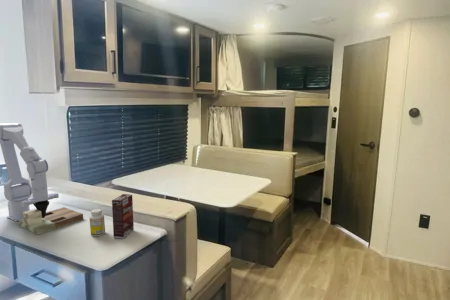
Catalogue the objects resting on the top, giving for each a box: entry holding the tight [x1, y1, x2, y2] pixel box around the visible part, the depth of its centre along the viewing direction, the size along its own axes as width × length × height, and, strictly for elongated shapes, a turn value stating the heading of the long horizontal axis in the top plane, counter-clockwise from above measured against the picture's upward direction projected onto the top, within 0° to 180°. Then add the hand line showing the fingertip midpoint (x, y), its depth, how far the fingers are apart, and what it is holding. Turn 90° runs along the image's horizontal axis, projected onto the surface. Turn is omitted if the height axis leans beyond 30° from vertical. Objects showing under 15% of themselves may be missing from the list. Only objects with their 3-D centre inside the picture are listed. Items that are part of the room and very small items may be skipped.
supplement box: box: [111, 193, 135, 240], centre depth 128 cm, size 9×5×16 cm, turn 168°
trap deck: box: [18, 207, 84, 235], centre depth 141 cm, size 16×20×2 cm
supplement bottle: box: [89, 208, 106, 237], centre depth 128 cm, size 6×6×10 cm
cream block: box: [23, 208, 42, 226], centre depth 134 cm, size 5×5×5 cm
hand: (42, 217), depth 137 cm, fingers closed
